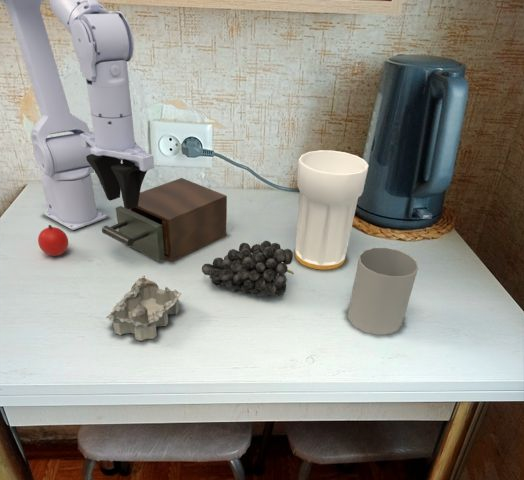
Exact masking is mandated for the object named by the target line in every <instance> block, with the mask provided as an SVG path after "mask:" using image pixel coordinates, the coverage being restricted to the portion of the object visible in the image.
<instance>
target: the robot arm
mask: <svg viewBox="0 0 524 480" xmlns="http://www.w3.org/2000/svg"><path fill="white" fill-rule="evenodd" d="M45 1H46V0H0V2H1V3H3V4H4V6H5V8H6V10H7V13H8V15H9V16H8V17H9V18H10V21H11V24H12V27H13V31H14V34H15V37H16V40H17V43H18V46H19V50H20V53H21V56H22V59H23V63H24V65H25V68H26V71H27V75H28V78H29V81H30V84H31V88H32V91H33V94H34V97H35V101H36V104H37V107H38V110H39V113H40V118H39V119H38V121H37V123H36V124H35V125H34V126H33V127H32V129H31V131H30V140H31V143H32V148H33V149H32V150H33V155H34V159H35V161H36V164H37V166H38V168H39V170H40V171H41V172H42V173H43V175H42V179H41V185H42V189H43V194H44V198H45V203H46V207H47V211H44V216H45V217H48V218H49V219H51V220H53V221H55V222H56V223H58V224H60V225H62V226H64V227H66V228H68V229H70V230H72V231H74V230H78V229H80V228H83V227H86V226H88V225H91V224H94V223H97V222H99V221H102V220H104V219H107V217H108V216H107V214H106V213H103V212H101V211H99V210H97V204H96V197H95V192H94V185H93V179H92V174H93V173H95V174H96V176H97V178H98V180H99V183H100V185H101V188H102V190H103V192H104V195H105V197H106V200H107V201H110V202H111V201H114V200H116V199H120V198H122V204H123V203H124V204H123V207H124V206H125V208H126V209H131V208H134V207H136V206H138V202H139V195H140V192H141V191H142V185H143V182H144V179H145V177H146V174H147V172H148V171H150V170H153V169H155V163H154V162H155V161H154V155H153V154H151V153H149V152H148V151H146V150H145V149H144V148H143V147H142V146H140V145H139V143H137V142H136V140H135V130H134V122H133V121H134V120H133V111H132V109H133V108H132V100H131V90H130V81H129V72H128V63H127V62H130V61H131V60H132V58H133V55H134V50H135V44H134V36H133V35H134V34H133V32H132V29H131V25H130V23H129V21H128V20H127V18H126V17H125V14H124V13H123V12H122V11H117V10H116V11H112V10H107V9H106V8H105V7H104V6H103V4H102V3H101V2H100V1H99V0H48V1H49V3H48V4H49V7H50V9H51V11H52V13H53V15H54V16H55V17H56V19H58V20H59V22H60V23H61V25H63V27H64V28H65V29H66V30H67V32H68V33H69V34H70V35H71V36H70V37H71V42H72V46H73V49H74V52H75V55H76V57H77V59H78V63H79V70H80V73H81V75H82V77H83V78H85V83H86V89H87V96H88V103H89V110H90V116H91V122H92V129H93V131H91V130H90V128H89V126H88V123H87V122H85V121H83V120H82V119H80V118H79V117H77V116H76V115H73V114H72V113H71V111H70V107H69V103H68V100H67V97H66V93H65V89H64V87H63V83H62V80H61V76H60V73H59V69H58V67H57V62H56V59H55V56H54V52H53V49H52V45H51V42H50V39H49V35H48V32H47V29H46V24H45V21H44V17H43V15H42V11H41V6H42V5H41V4H42V3H44V2H45ZM67 132H68V134H63V135H58V136H51V137H48V136H49V135H54V134H61V133H67ZM69 132H70V133H69Z"/></svg>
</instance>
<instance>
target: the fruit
mask: <svg viewBox="0 0 524 480" xmlns="http://www.w3.org/2000/svg"><path fill="white" fill-rule="evenodd" d="M293 258H294V252H293V251H292V249H290V248H284V249H283V248H282V247H281V244H279V243H278V242H272V243H271V241H269V240H264V241H262V242H261V243H260V244H258V243H256V244H252V246H251V245H250V244H249V243H247V242H242V243H241V244H239V247H238V250H237V249H235V248H231V249H229V250H228V252H227V254H226V255H225V256H223V258H222V257H215V258H214V259H213V260H212V264H211V263H204V264H203V265H202V267H201V273H202V274H204V275H205V276H209V278H210V280H211V283H212V284H213V285H214V286H216V287H218V286H221V285H223V286H226V287H231V290H232V291H233V292H235V293H239V292H240V291H242V292H244V293H249V292H250V293H251V294H253V295H258V296H259V297H261V298H266V297H268V295H269V296H271V295H274V296H276V297H281V296H284V295H285V292H286V290H287V282H288V278H287V276H286V274H287V273H289V274H291V275H295V273H294V272H293V270H290V269H288V268H289V266H287V265H291V263H292V262H293Z"/></svg>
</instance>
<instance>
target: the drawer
mask: <svg viewBox="0 0 524 480" xmlns="http://www.w3.org/2000/svg"><path fill="white" fill-rule="evenodd" d="M115 213H116V222H117V223H116V224H113V225H111V226H109V225H103V226H102V228H101V233H102V234H104V235H105V236H108V237H109V238H112V239H114V240H116V241H117V242H119V243H121V244H123V245H125V246H127V247H130V248H132V249H134V250H137V251H138V252H141V254H144V255H146V256H148V257H150V258H152V259H154V260H155V261H158V262H162V261H164V260H166V259H165V258H164V253H165V254H167V255H168V254H169V246H168V231H167V222H166V221H164V220H162V219H160V218H157V217H155V216H153V215H151V214H149V213H147V212H144V211H142V210H140V209H138V208H136V207H134V208H131V209H126V208H124V206H123V205H119V206H116V207H115Z"/></svg>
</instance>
